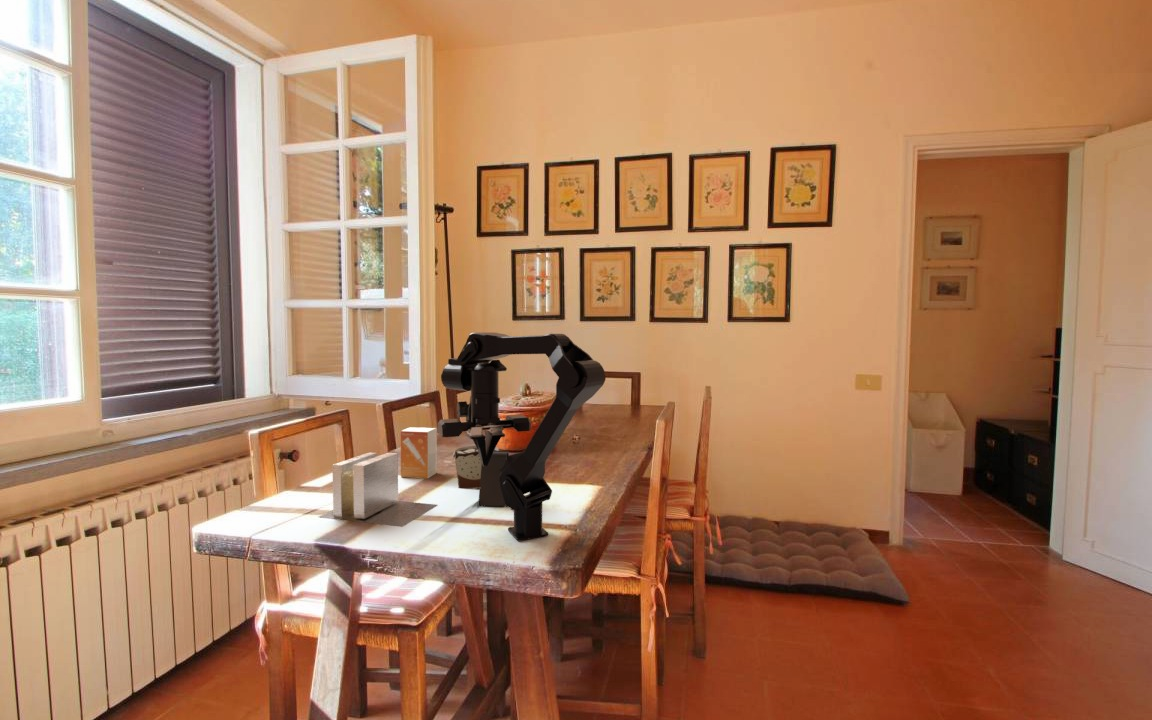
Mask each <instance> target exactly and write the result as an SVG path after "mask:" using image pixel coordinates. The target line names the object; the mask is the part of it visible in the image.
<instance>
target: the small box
mask: <svg viewBox="0 0 1152 720" xmlns="http://www.w3.org/2000/svg"><path fill="white" fill-rule="evenodd" d="M437 433H438V427H414V426H411V427H407V428H405V429H402V430H400V477H401V478H416V479H418V478H419V479H427V478H428V479H430V478H431V477H433V476H434V475H436V474H437V472H438V471H437V470H438V467H437V466H438V464H437V463H438V462H437V461H438V459H437V458H438V454H437V453H438V451H437V443H438V442H437Z"/></svg>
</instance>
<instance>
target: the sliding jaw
mask: <svg viewBox="0 0 1152 720" xmlns="http://www.w3.org/2000/svg"><path fill="white" fill-rule="evenodd" d="M398 457H399V456H398V452H386V453H382V454H380V455H377V457H374V458H371V459H368V460H366V461H363V462H360V463H357V464H355V465H353V491H354V518H362V519H365V518H367V517H369V516H371V515H373V514H375V513H377V512H378V511H380V510H382V509H384V508H386V507H388V506H390V505H392V504H394V503H396V502H398V501H399V468H398V467H399V463H398V461H399V459H398Z"/></svg>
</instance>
